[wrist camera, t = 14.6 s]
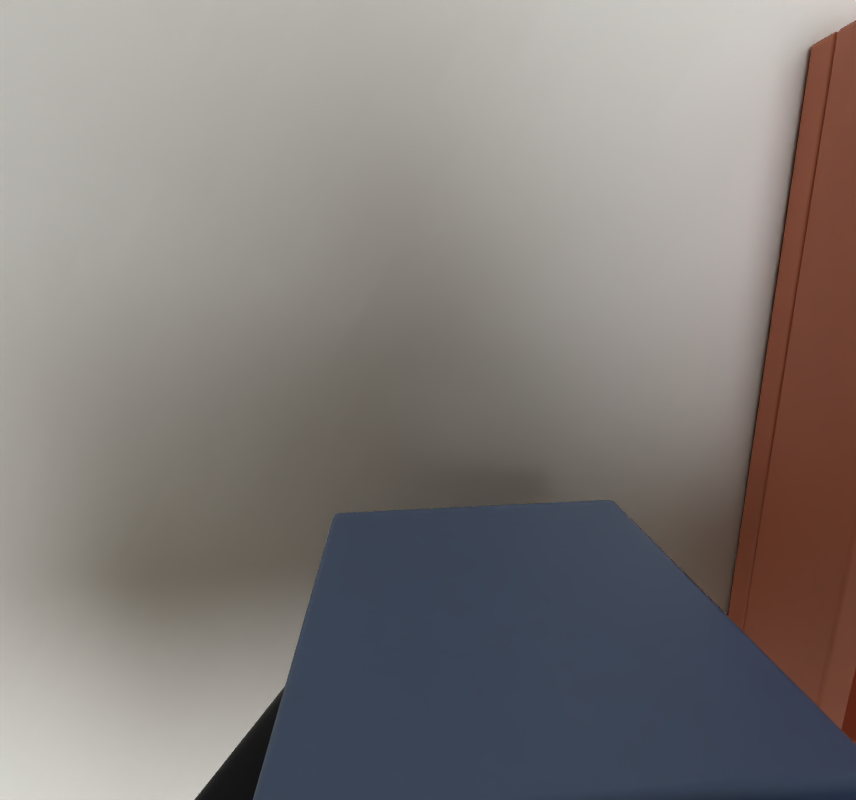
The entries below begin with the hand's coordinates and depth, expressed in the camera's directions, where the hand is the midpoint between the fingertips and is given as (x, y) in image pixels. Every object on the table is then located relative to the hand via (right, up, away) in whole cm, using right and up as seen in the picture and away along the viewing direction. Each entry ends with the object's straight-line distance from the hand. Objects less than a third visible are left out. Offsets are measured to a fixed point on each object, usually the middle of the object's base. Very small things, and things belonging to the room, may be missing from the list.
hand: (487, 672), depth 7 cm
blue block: (0, 0, +1) cm, 1 cm away
